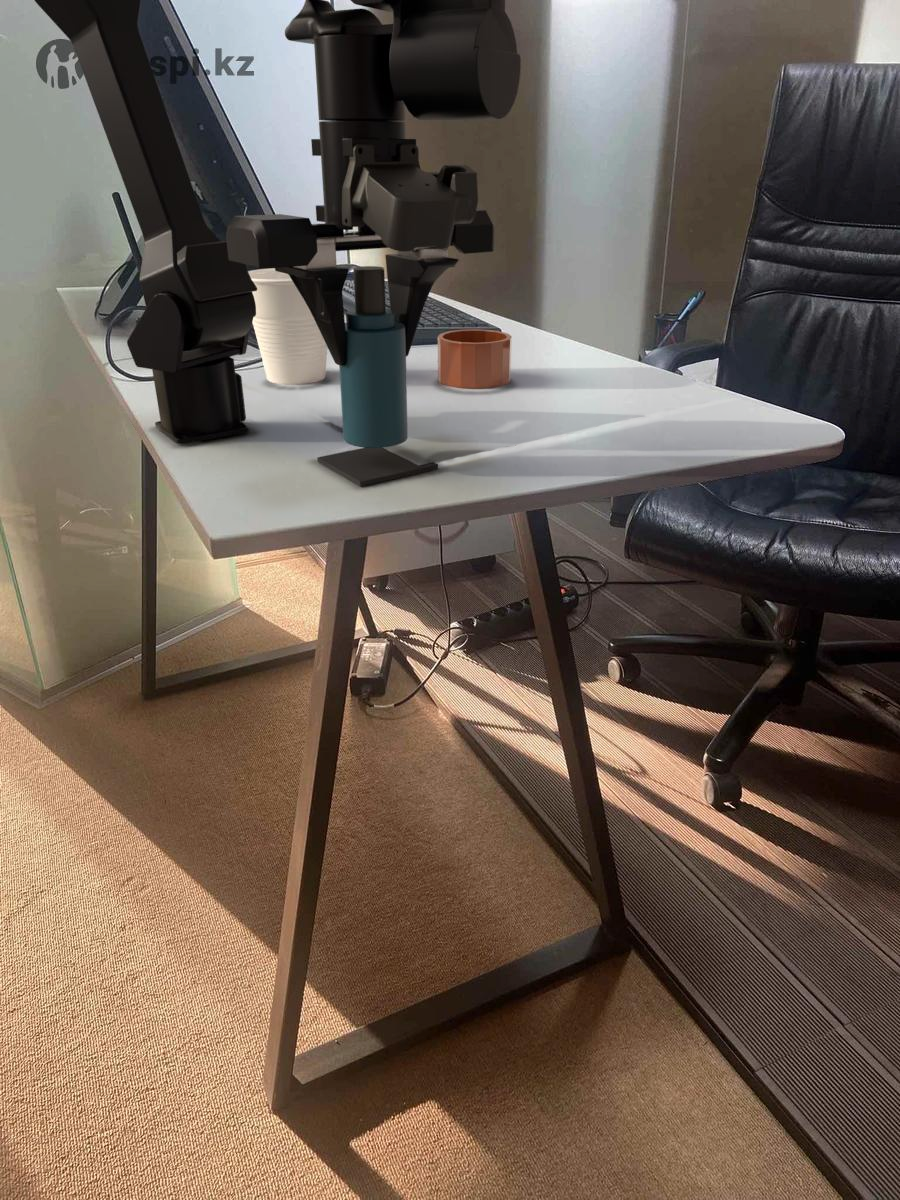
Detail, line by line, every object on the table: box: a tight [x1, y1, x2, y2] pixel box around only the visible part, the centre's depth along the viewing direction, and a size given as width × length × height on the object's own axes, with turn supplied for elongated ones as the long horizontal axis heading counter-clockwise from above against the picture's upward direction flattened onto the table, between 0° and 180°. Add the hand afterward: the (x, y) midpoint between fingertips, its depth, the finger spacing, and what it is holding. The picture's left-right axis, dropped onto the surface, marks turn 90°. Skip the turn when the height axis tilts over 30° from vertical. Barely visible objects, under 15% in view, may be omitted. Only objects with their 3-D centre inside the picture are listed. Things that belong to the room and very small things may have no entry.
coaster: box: [316, 447, 439, 487], centre depth 68 cm, size 7×7×1 cm
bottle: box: [338, 265, 409, 448], centre depth 64 cm, size 5×5×12 cm
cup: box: [248, 268, 328, 385], centre depth 90 cm, size 10×10×11 cm
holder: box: [437, 328, 513, 390], centre depth 90 cm, size 8×8×5 cm
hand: (371, 360), depth 64 cm, fingers closed on bottle, 5 cm apart
